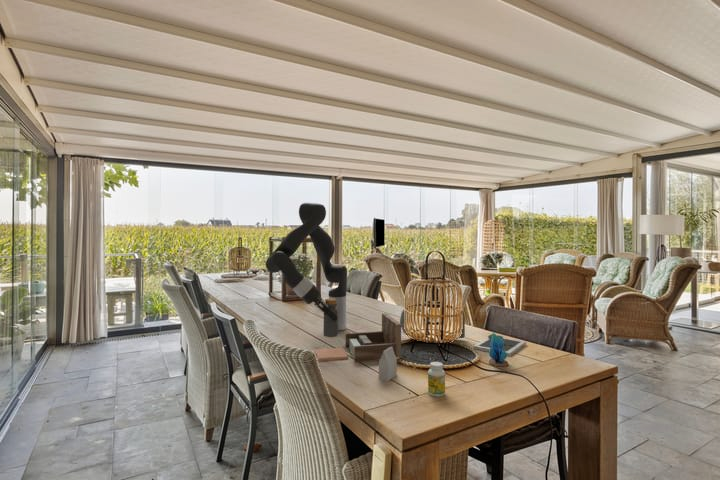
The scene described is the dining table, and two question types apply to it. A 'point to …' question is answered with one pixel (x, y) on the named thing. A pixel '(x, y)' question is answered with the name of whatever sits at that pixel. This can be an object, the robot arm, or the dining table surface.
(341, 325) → the robot arm
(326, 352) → the terracotta pad
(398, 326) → the walnut rack
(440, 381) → the supplement bottle
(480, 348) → the picture frame
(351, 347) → the sage offcut
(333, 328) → the bottle
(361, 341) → the charcoal offcut
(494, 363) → the gemstone
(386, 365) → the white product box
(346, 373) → the dining table surface
